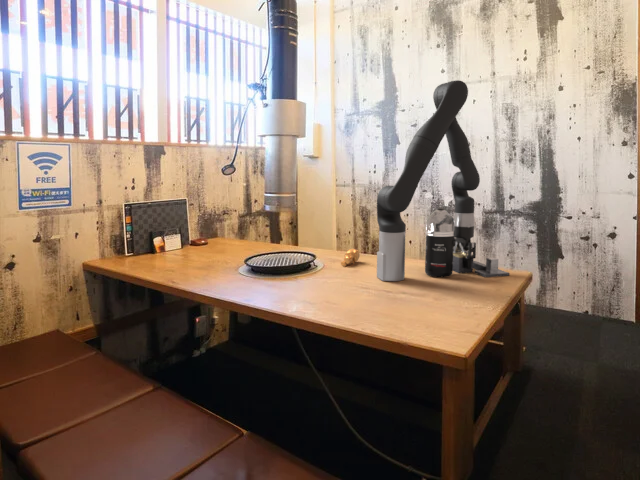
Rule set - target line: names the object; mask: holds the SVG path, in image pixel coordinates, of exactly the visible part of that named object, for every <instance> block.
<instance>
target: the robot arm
mask: <svg viewBox="0 0 640 480" xmlns="http://www.w3.org/2000/svg"><path fill="white" fill-rule="evenodd" d="M468 94H469V88H468V86H467V84H466V82H465V81H463V80H459V79H458V80H457V79H456V80H451V81H448V82H443V83H441V84H438V85H437V86H436V87H435V89H434V91H433V96H432V98H433V103H434V106H435V110H436V111H435V112H434V113H433V114H432V116H431V117H429V119H428V120H426V121H425V123H424V124H422V126H420V128H419V129H418V130H417V131H416V132H415V134H414V135H413V137H412V139H411V141H410V143H409V144H408V146H407V149H406V152H405V153H406V154H405V159H404V166H403V170H402V172H401V173H400V176H399V178H398V179H397V181H396V183H395V184H394V185H385V186H383V187H382V188H380V190H379V191H378V194H377V197H376V217H377V224H378V226H379V228H378V230H379V233H378V234H379V235H378V237H379V238H378V239H379V240H378V251H377V252H376V277H377V278H378V279H379V280H380V281H382V282H384V281H385V282H386V281H387V282H399V281H400V282H401V281H403V280H405V274H406V273H405V271H406V270H405V268H406V266H405V265H406V233H407V231H406V230H407V229H406V228H407V227H406V223H405V222H404V221H403V219H402V215H401V213H402V212H405V211H406V210H407V208H408V207H409V206H410V204H411V202H412V200H413V198H414V196H415V192H416V190H417V188H418V186H419V183H420V181H421V178H422V177H423V175H424V174H425V172H426V170H427V168H428V166H429V164H430V163H431V161H432V159H433V158H434V155H435V154H436V152H437V150H438V148H439V146H440V144H441V142H442V140H443V139H444V137H446V141H447V145H448V148H449V154H450V159H451V164H452V165H453V166H454V167H455V168H458V169H459V171H457V172H454V174H453V176H452V178H451V189H452V195H453V199H454V214H453V219H454V222H455V226H454V234H455V235H454V248H453V253H457V252H462V253H463V254H464V255H465V269H471V261H472V259H474V260H475V259H476V258H477V256H476V255H477V252H476V251H477V242H474V241H473V242H472V240H471V239H472V238H474V235H475V199H474V198H473V197H471V196H469V193H468V192H469V191H470V192H472V191H475V190H477V189H478V187H479V185H480V182H481V180H480V179H481V178H480V174H479V170H478V168H477V167H476V165H475V163H474V161H473V159H472V158H473V157H472V153H471V148H470V144H469V140H468V138H467V135H466V134H465V132H464V130H463V129H462V127H461V125H460V124H459V122H458V119H457V116H458V114H459V113H460V111H461V109H463V107H464V105H465V103H466V101H467V99H468V96H469V95H468ZM467 254H468V255H467ZM472 254H473V255H472Z"/></svg>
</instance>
